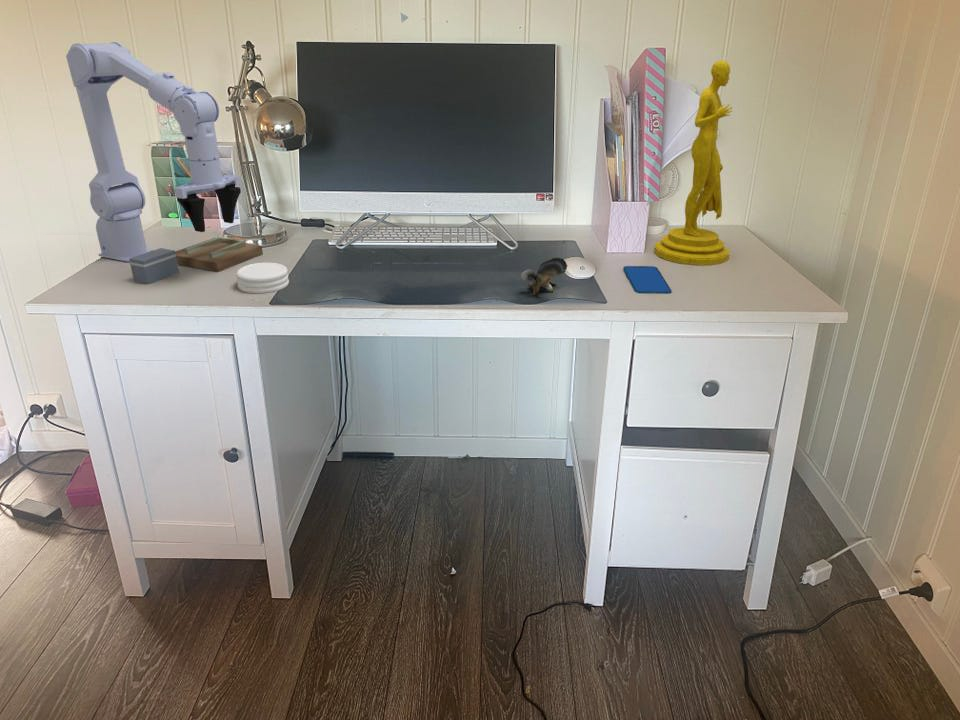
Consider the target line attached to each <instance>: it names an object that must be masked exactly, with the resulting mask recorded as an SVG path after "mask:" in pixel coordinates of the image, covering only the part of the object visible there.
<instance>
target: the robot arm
mask: <svg viewBox="0 0 960 720" xmlns="http://www.w3.org/2000/svg"><path fill="white" fill-rule="evenodd" d="M65 56H66V57H65V58H66V61H67V65H68V69H69V72H70V77H71V80H72V85H73V87H75V91H76V93H77V97H78V102H79V104H80V108H81V109H80V110H81V113H82V117H83V119H84V120H83V121H84V124H85V128H86V131H87V135H88V138H89V144H90V146H91V149H92V154H93V157H94V161H95V164H96V165H95V166H96V169H97V173H96V175H95V176H93V178H92V179H91V181H90V182H89V184H88V188H89V190H90V195H89V196H90V197H89V201H90V202H89V203H90V206H91V209H92V210H93V212H94V213H95V214H96V215H97V216H98V219H97V220H96V224H95V231H96V235H97V240H98V243H99V247H100V252H101V253H98V255H97V256H98V257H101V258H107V259H112V260H115V261H123V262H129V263H130V260H129V258H132V257H135V256H138V255H141V254H144V253H147V252H150V251H153V250H154V249H150V248H147V243H146V238H145V234H144V230H143V224H142V220H141V216H140V215H142V214H143V209H144V208H145V206H146V195H145V193H144V191H143V189H142V187H141V186H140V183H139V180H138V177H137V176H136V175H134V174H132V173H131V172H129V171H128V170H126V168H125V167H126V166H125V162H124V159H123V154H122V150H121V147H120V143H119V138H118V134H117V131H116V127H115V126H116V125H115V122H114V119H113V115H112V111H111V106H110V105H111V104H110V102H109V97H108V92H109V90H110V88H111V87H112V86H113V85H114V84H115V83H117V82H118V81H120V80H121V79H123V77H124V78H126V79H128V80H129V81H132V82H133V83H135V84H137V85H138V86H140V87H142V88H143V89H146V90H147V92H148V96H149V98H150V99H151V100H153V101H154V102H155V103H157V104H159V105H160V106H162V107H163V108H164V109H167V110H168V111H170V112H171V113H172V114H173V117H174V119H175V120H176V122H177V123H178V126H179V127H180V132H181V133H182V135H183V136H184V141H185V146H186V153H187V154H186V155H187V158H188V159H187V160H188V164H189V165H188V166H189V171H190V178H191V181H189V182H187V183H185V184H182V185H179V186H177V187H174V193H175V198H176V201H177V202H178V203H179V205H180V206H181V207H182V209H184V211H185V213H186V214H187V216H188V217H189V219H190V222H191V224H192V226H193V229H194V230H195V232H199V233H203V232H204V233H205V232H206V224H205V216H204V215H205V214H204V213H205V211H204V209H205V200H206V199H205V198H201V197H199V196H198V195H200V194H204V193H208V192H211V191H213V192H214V193H215V194H216V197H217V200H218V202H219V207H220V211H221V216H222V220H223V222H224V223H227V224H234V221H235V214H236V213H235V211H236V208H237V207H236V206H237V203H238V199H239V196H240V195H241V187H239V185H240V179H239V178H240V177H239V175H237V174H228V175H223V174H222V173H223V172H222V167H221V162H220V161H221V160H220V153H219V148H218V140H217V133H216V128H215V122H217V121H218V118H219V116H220V110H219V109H220V108H219V104H218V102H217V99H215V97H214V96H213V95H211V93H209V92H208V91H195V90H194V89H193V87H192V86H190V85H186V84H184V83H183V82H181V81H180V80H178V79H176V78H175V74H173V73H172V72H159V73H157V72H155V71H154V70H152V69H151V68H149V66H147V65H145V63H143V62H142V61H141V60H139V59H138V58H136V57H135V56H133V54H132V53H131V51H130V49H129V47H127V46H124V45H122V43H120V42H117V41H113V42H103V43H101V42H100V43H80V42H76V43H73V44H72V45H71V46H70V47H69V50H68V52H67V54H66V55H65Z"/></svg>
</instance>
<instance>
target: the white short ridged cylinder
mask: <svg viewBox="0 0 960 720" xmlns="http://www.w3.org/2000/svg"><path fill="white" fill-rule="evenodd" d="M288 272H289V270H288V268H287V266H285V265H284V264H281V263H278V262H277V263H276V262H256V263H255V262H254V263H251V264H246V265H245V266H242V267H240V268H238V269H237V270H236V272H235V276H236V282H237V288H238V289H239V290H240V291H242V292H244V293H248V294H266V293H267V294H268V293H274V292H278V291H281V290H283V289H285V288H286V287H287V286H289V283H290V280H289V274H288Z"/></svg>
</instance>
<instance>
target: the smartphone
mask: <svg viewBox="0 0 960 720" xmlns="http://www.w3.org/2000/svg"><path fill="white" fill-rule="evenodd" d="M622 269H623V270H622V271H623V273H624V274H625V277H626V278H627V280H628V282H629V284H630V285H631V287H632V289H633V291H634V292H635V293H636V294H659V295H660V294H666V295H667V294H672V289H671V287H670V286H669V284H668V283H667V281H666V280H665V278H664V276H663V275H662V273H661V271H660V270H659V269H658V267H656V266H653V265H651V266H650V265H649V266H648V265H647V266H646V265H645V266H644V265H625V266H623V268H622Z"/></svg>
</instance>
